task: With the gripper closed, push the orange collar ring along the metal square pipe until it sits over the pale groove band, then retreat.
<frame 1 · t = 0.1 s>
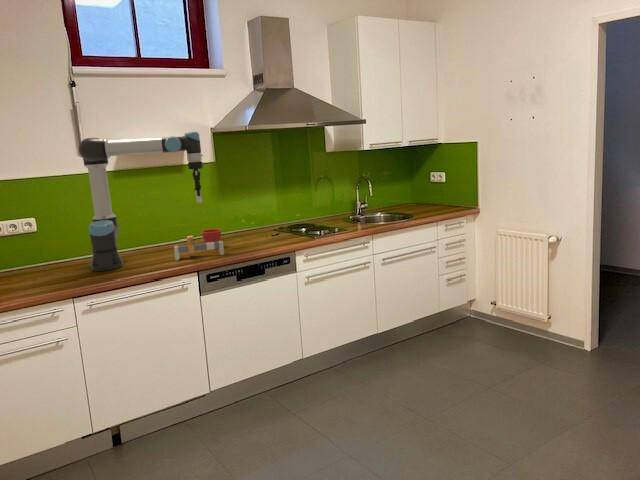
hand: (199, 201, 288), 28 cm above the table, fingers open, 13 cm apart
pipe: (200, 256, 281), on the table
collar: (190, 245, 279), point 6 cm above the table, slide at 0.0 cm
flower pot: (212, 247, 303), on the table
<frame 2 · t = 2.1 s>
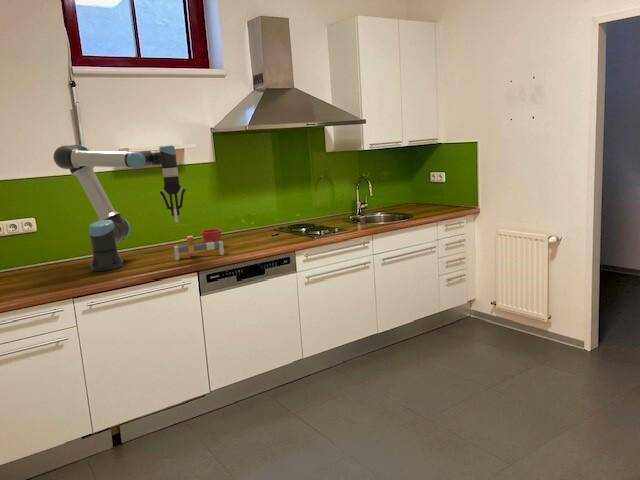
hand: (176, 221, 275), 20 cm above the table, fingers closed
nothing on the table moved.
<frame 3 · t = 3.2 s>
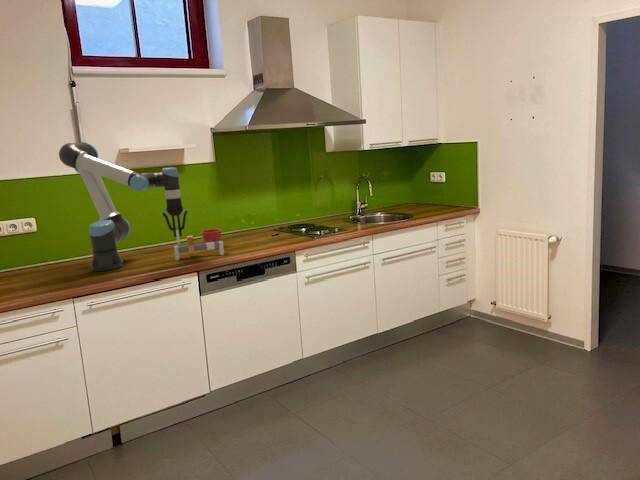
hand: (178, 242, 277), 8 cm above the table, fingers closed
nothing on the table moved.
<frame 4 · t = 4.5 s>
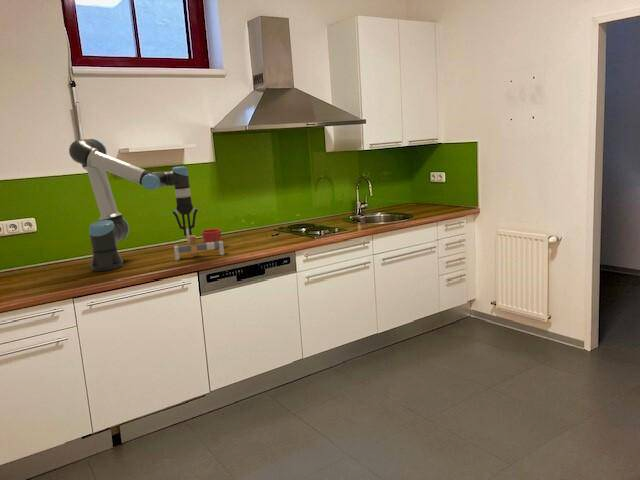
hand: (188, 241, 278), 9 cm above the table, fingers closed
collar: (193, 245, 279), point 6 cm above the table, slide at 1.4 cm, touching gripper
everything else where it was.
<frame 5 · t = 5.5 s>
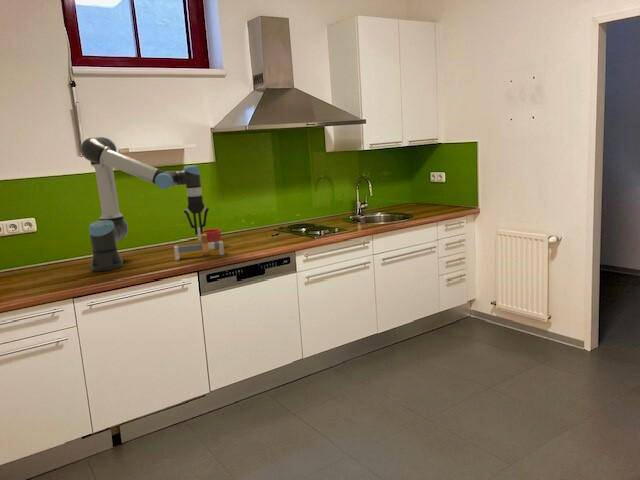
hand: (199, 240, 280), 9 cm above the table, fingers closed
collar: (204, 244, 281), point 6 cm above the table, slide at 7.1 cm, touching gripper
everything else where it was.
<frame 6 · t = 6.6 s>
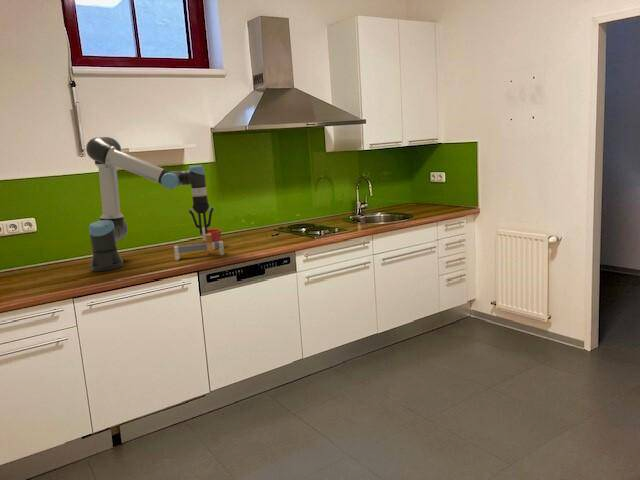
hand: (204, 240, 280), 8 cm above the table, fingers closed
collar: (209, 243, 281), point 6 cm above the table, slide at 9.5 cm, touching gripper
everything else where it was.
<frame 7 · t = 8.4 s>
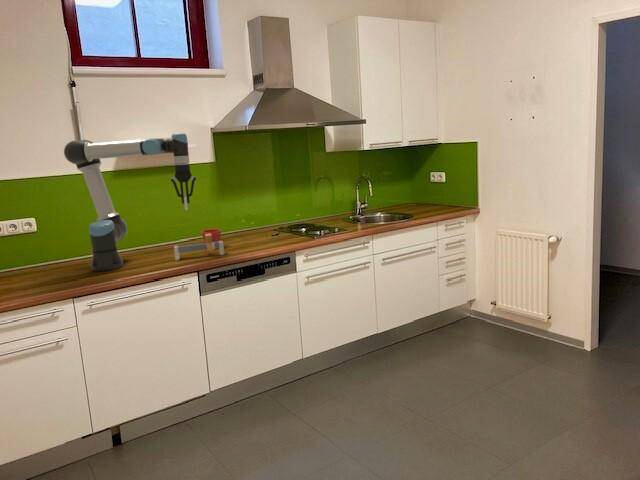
hand: (186, 209, 278), 25 cm above the table, fingers closed
collar: (209, 243, 281), point 6 cm above the table, slide at 9.5 cm
everything else where it was.
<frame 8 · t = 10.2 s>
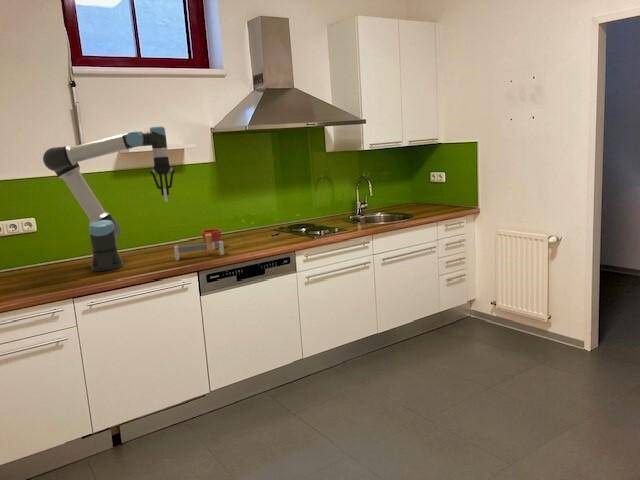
hand: (166, 201, 283), 29 cm above the table, fingers closed
nothing on the table moved.
at the end: collar slide at 9.5 cm; the gripper is holding nothing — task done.
